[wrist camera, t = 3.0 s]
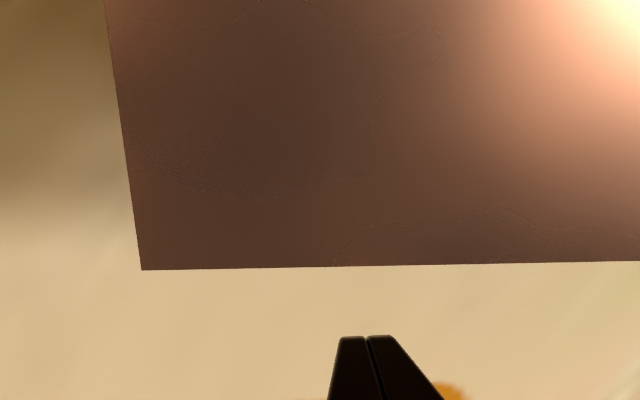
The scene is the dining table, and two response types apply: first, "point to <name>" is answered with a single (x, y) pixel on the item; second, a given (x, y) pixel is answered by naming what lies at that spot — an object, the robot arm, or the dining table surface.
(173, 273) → the dining table surface
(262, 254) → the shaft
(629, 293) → the dining table surface
